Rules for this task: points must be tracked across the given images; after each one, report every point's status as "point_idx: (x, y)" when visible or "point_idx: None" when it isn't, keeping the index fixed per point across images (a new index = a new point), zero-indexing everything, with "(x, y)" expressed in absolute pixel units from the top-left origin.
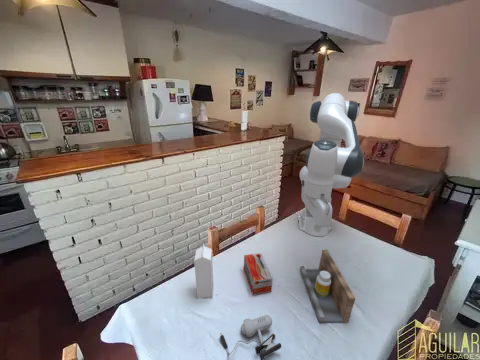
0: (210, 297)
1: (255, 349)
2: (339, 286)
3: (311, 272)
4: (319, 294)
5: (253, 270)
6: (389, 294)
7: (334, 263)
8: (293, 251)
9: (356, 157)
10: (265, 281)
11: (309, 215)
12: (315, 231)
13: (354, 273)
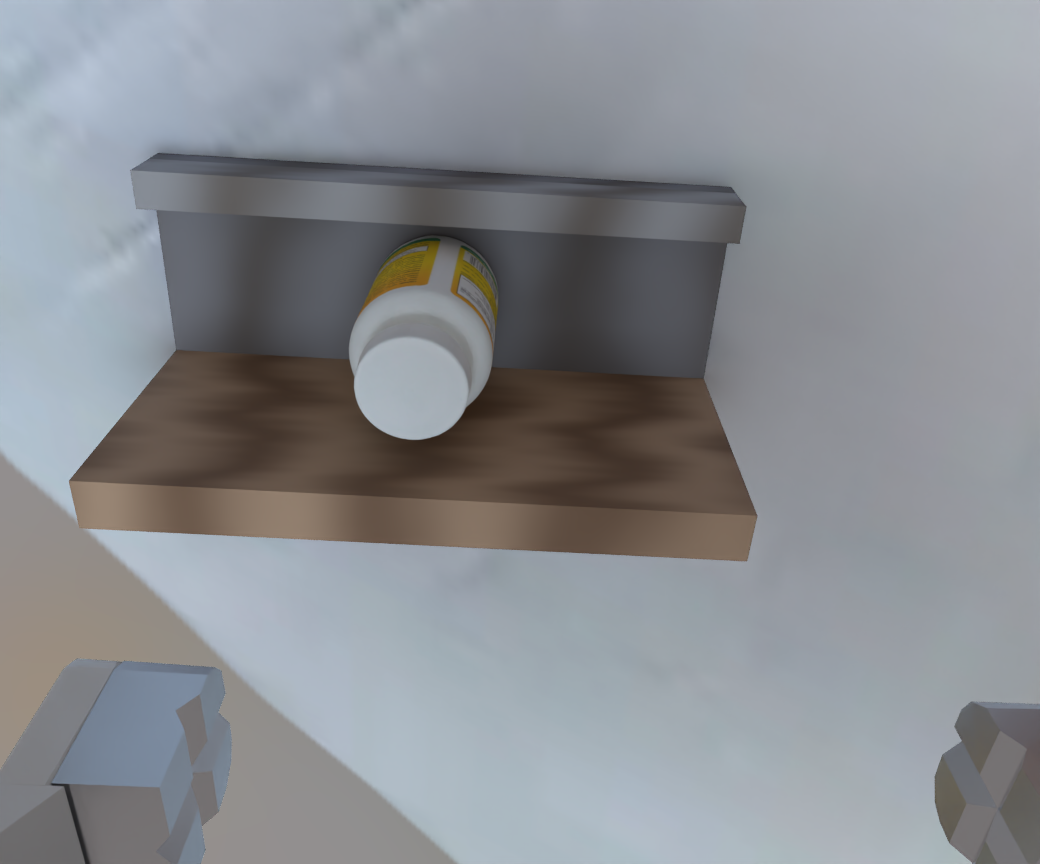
0: None
1: None
2: (277, 458)
3: (675, 296)
4: (385, 262)
5: None
6: (421, 727)
7: (522, 544)
8: (1033, 217)
9: None
10: None
11: (972, 807)
12: (72, 662)
13: (623, 626)
